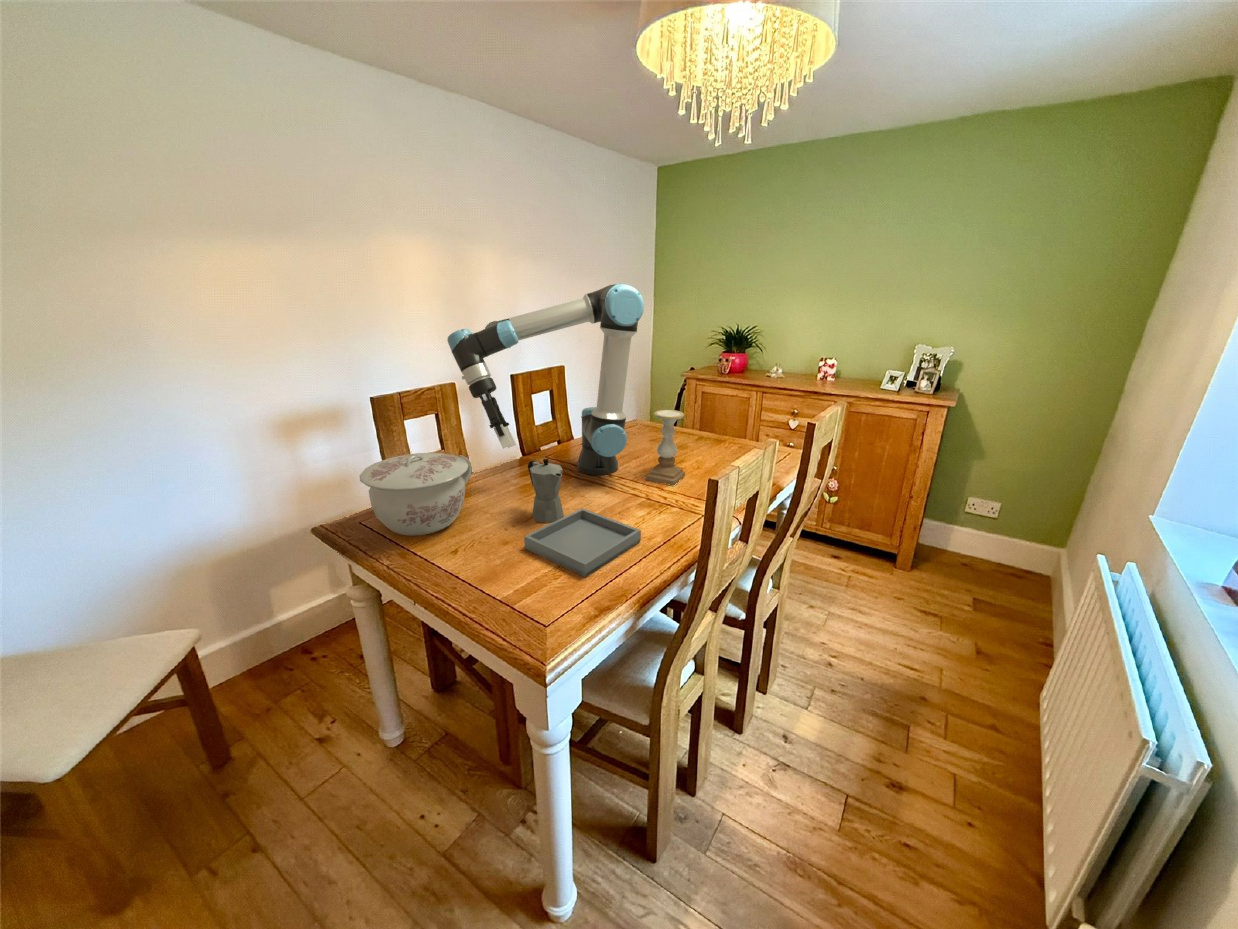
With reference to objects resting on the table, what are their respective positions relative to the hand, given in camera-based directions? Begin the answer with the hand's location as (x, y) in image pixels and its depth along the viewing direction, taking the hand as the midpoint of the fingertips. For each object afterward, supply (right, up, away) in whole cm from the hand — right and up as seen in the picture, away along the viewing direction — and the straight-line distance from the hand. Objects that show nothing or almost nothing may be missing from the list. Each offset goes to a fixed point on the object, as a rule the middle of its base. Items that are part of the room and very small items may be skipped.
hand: (510, 446), depth 146 cm
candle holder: (+50, -10, +27) cm, 57 cm away
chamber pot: (-22, -22, -9) cm, 33 cm away
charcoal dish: (+24, -26, -19) cm, 40 cm away
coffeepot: (+11, -20, -2) cm, 24 cm away
